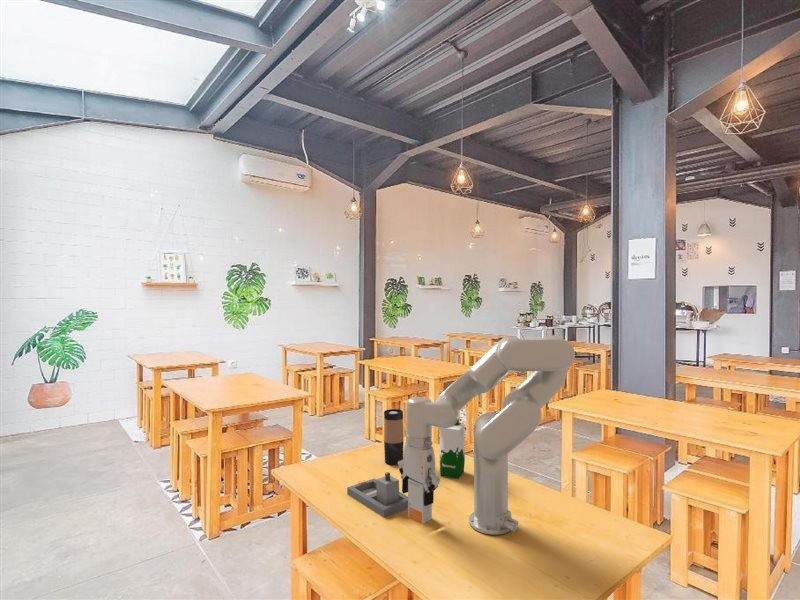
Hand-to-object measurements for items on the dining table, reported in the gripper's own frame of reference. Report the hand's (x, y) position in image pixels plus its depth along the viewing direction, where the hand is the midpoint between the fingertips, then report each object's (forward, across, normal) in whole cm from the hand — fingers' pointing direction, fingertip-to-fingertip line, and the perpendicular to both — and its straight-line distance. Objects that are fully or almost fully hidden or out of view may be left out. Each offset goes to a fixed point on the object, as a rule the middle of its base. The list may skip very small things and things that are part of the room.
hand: (417, 498), depth 133 cm
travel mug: (+7, +39, -23) cm, 46 cm away
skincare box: (+7, -1, -1) cm, 7 cm away
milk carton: (+6, +16, -32) cm, 36 cm away
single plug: (+6, +12, +2) cm, 13 cm away
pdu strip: (+7, +16, +2) cm, 18 cm away
